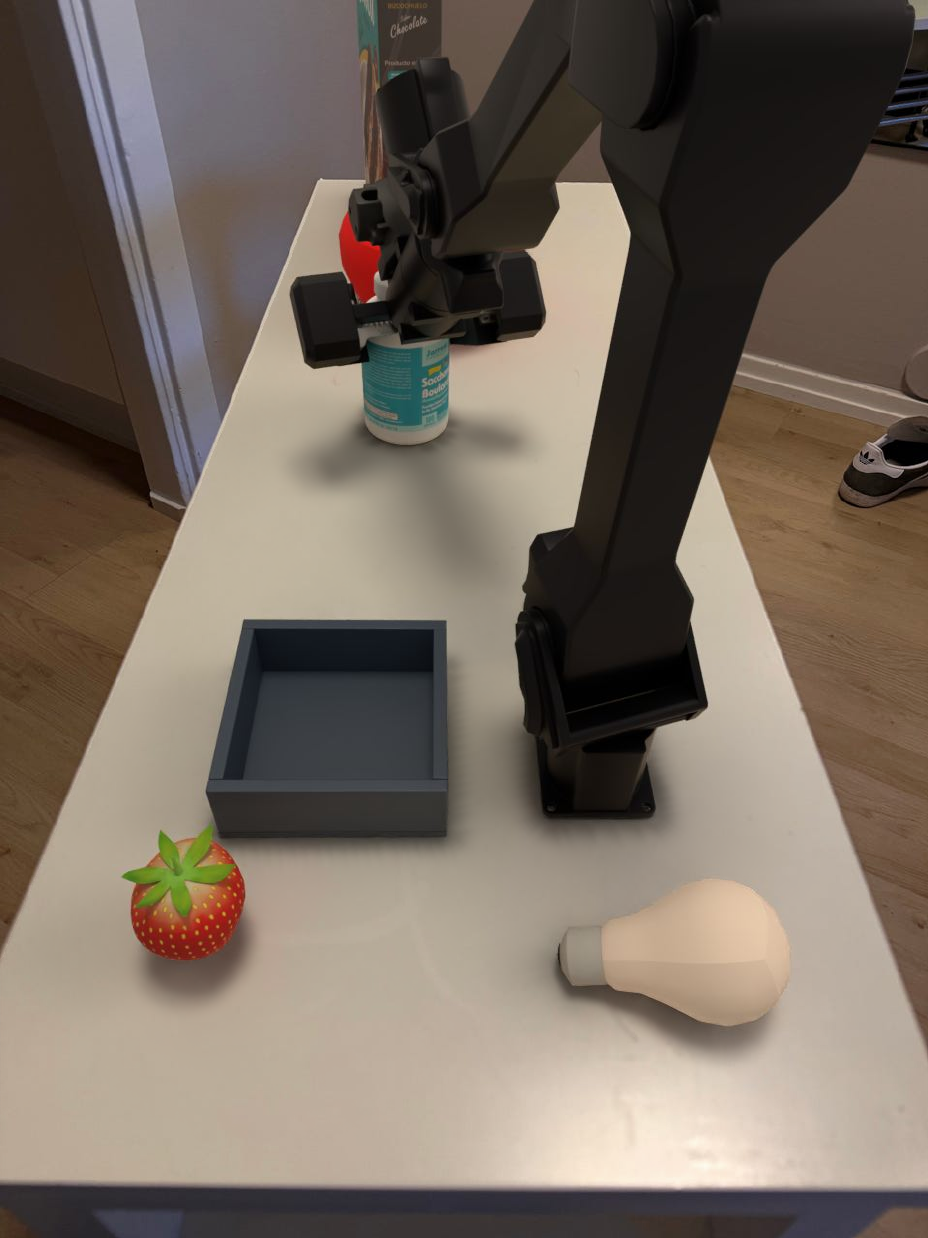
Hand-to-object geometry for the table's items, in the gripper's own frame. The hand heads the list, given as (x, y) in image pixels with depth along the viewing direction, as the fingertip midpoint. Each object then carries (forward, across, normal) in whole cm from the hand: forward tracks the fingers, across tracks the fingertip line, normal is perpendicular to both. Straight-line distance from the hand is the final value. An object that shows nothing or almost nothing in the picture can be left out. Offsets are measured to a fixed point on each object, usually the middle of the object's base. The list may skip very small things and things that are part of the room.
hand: (401, 343), depth 73 cm
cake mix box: (+32, -11, -22) cm, 40 cm away
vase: (+18, -8, -8) cm, 21 cm away
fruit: (-26, +23, +36) cm, 50 cm away
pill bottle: (+4, 0, +6) cm, 7 cm away
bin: (-19, +14, +29) cm, 37 cm away
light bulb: (-32, +2, +42) cm, 53 cm away
